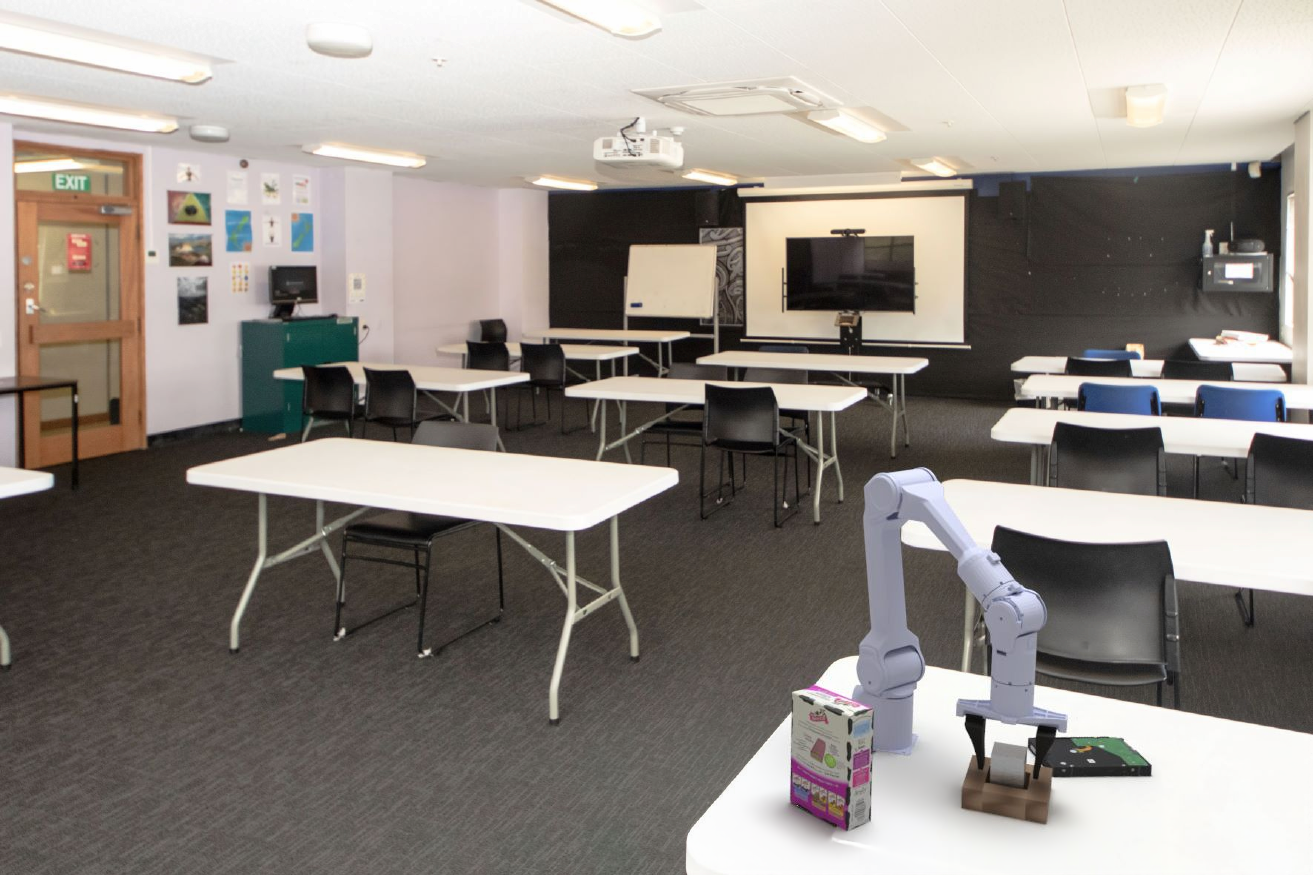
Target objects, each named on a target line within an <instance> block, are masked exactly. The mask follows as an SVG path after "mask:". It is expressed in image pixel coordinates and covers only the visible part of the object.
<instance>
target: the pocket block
mask: <svg viewBox="0 0 1313 875" xmlns="http://www.w3.org/2000/svg"><path fill="white" fill-rule="evenodd" d="M990 767H991V757H990V756H985V765H984V768H983V770H980V769H978V764H977V758H976V754H972V755H971V758H970V761H969V764H968V767H967V770H966V773H965V776H964V779H963V784H962V786H961V806H960V809H964V810H968V811H974V812H978V813H980V812H981V813H985V814H989V815H995V816H1001V817H1006V818H1011V819H1017V820H1022V821H1026V822H1033V823H1036V824H1042V825H1047V822H1048V814H1049V807H1050V800H1051V794H1052V785H1053V784H1052V781H1053V777H1052V768H1048V767H1043V765H1041V768H1040V772H1039V778H1038V780H1037V779H1033V770H1034V764H1029V763H1026V783H1025V790H1024V789H1018V788H1013V787H1007V786H1002V785H996V784H990Z"/></svg>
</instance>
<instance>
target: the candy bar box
mask: <svg viewBox="0 0 1313 875" xmlns="http://www.w3.org/2000/svg"><path fill="white" fill-rule="evenodd" d="M873 722H874V708H872V707H869V706H867V705H864V704H862V703H859V702H857V701H854V700H852V698H849V697H847V696H844V695H842V694H839V693H836V692H833V691H831V690H829V689H826V688H823V687H822V686H819V685H817V684H814V685H810V686H808V687H804V688H801V689H798V690H795V691H792V692H791V727H790V730H791V734H790V777H789V778H790V782H789V783H790V787H789V788H790V789H789V791H790V792H789V793H790V794H789V802H790V801H791V802H792V803H794V804H795V805H794V804H793V805H794V806H796V805H798V806H799V807H798V806H797V807H798V808H800V807H801V808H803V809H804V810H803V809H802V810H803V811H805V810H806V811H805V812H807V811H808V812H807V813H809V814H811V815H813V816H814V815H815V816H814V817H816V816H817V818H818V817H819V819H820V820H823V821H824V822H826V823H827V824H829V825H830V826H831V825H832V826H833V827H835V828H837V826H838V827H839V828H840V829H842V830H845V831H847V832H849V831H851V830H854V829H856V828H858V827H860V826H863V825H865V824H867V823H869V822H872V821H871V820H872V790H873V789H872V787H873V785H872V784H873V759H874V758H873V755H874V754H873V753H874V751H873ZM791 802H790V803H791ZM792 803H791V804H792ZM801 808H800V809H801Z"/></svg>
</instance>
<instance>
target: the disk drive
mask: <svg viewBox="0 0 1313 875" xmlns="http://www.w3.org/2000/svg"><path fill="white" fill-rule="evenodd" d="M1035 749H1036V736H1035V737H1028V738H1027V750H1029V751H1030V752H1031V754H1032V755H1033V756H1034V757H1035ZM1152 765H1153V764H1151V763H1150V762H1149V761H1148V760H1147V759H1146V758H1145V757H1144V756H1143V755H1142V754H1141V753H1140V752H1139V751H1137V749H1134V748H1133V747H1132V746H1130V745H1129V744H1128V742H1126V741H1125V738H1123V737H1117V736H1114V737H1113V736H1111V737H1110V736H1105V735H1104V736H1056V738H1055V740H1054V742H1053V744H1052V746H1051V747H1050V749H1049V750H1048V752H1047V754H1046V756H1045V758H1044V760H1043V763H1042V765H1041V766H1042V767H1048V768H1052V778H1085V777H1087V778H1091V777H1093V778H1095V777H1096V778H1098V777H1099V778H1100V777H1101V778H1102V777H1103V778H1105V777H1110V778H1111V777H1152V769H1153V766H1152Z"/></svg>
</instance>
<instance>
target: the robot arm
mask: <svg viewBox="0 0 1313 875" xmlns="http://www.w3.org/2000/svg"><path fill="white" fill-rule="evenodd" d="M863 492H864V493H863V494H864V496H863V497H864V512H863V517H862V519H863V524H862V525H863V534H864V548H865V549H864V550H865V562H866V576H867V591H868V602H869V603H868V604H869V605H868V606H869V614H870V615H869V617H870V631H869V632H868V633H867V634H866V635H865V636H864V638H863V639H862V640H861V641H860V643H859V645H858V651H859V653H858V654H859V655H858V659H857V662H856V666H855V667H856V668H855V669H856V676H857V680H858V681H859V684H856V685H855V686H854V688H853V691H852V695H851V699H852V700H854V701H857V702H859V703H862V704H864V705H867V706H869V707H872V708H874V722H873V752H877V751H879V752H885V753H889V754H896V755H902V756H910V755H911V754H912V751H913V749H914V748H915V747H914V746H915V745H916V742H917V741H918V738H919V734H916V733H913V728H914V727H913V726H914V725H913V723H914V721H913V720H914V693H915V690H917V688H918V683H919V682H920V681H921V680H922V679H923V678H924V675H925V673H926V662H925V659H924V656H923V654H922V651H921V648H920V640H919V637H918V636H917V635H915V634H914V633H913V632H912V631H911V630H909V629H908V625H907V624H908V622H907V610H906V599H905V597H906V595H905V584H904V570H903V568H904V567H903V555H902V541H901V529H902V528H903V526H904V525H906V524H907V523H908V521H914V522H920V523H923V524H925V526H926V527H927V528H928V529H929V530H930V531H931V533H932V534H933V535H934V536H935V537H936V538H937V539H938V540H939V542H940V543H941V544H942V545H943V546H944V547H945V548H946V549H947V550H948V552H950V554H951V555H952V556H953V557H954V558H955V559H956V560H957V575H958V577H960V579H961V581H963V582H964V584H965V585H966V587H967V588H968V589H969V591H970V592H971V593H972V594H973V596H974V597H975V598H976V600H977V601H978V603H980V605H981V606H982V607H983V609H984V610H985V611H984V612H983V619H984V622H985V625H986V628H987V630H988V631H989V634H990V635H989V636H990V638H989V639H990V641H989V643H990V644H991V650H992V651H991V652H992V653H991V670H990V671H991V672H990V673H991V674H990V691H989V692H990V698H989V699H967V698H966V699H965V698H958V699H957V701H956V707H955V708H956V709H955V716H956V717H959V718H964V717H965V720H964V728H965V731H966V733H967V734H968V737H969V739H970V741H971V743H972V746H973V750H974V753H975V754H974V755H976V758H977V764H978V769H980V770H983V768H984V765H985V757H986V740H985V739H986V728H987V727H986V724H987V720H989V721H990V720H992V721H999V722H1000V723H1001V724H1004V725H1005V724H1006V725H1010V726H1016V725H1017V724H1018V725H1023V726H1029V727H1030V726H1031V727H1035V728H1036V727H1037V728H1036V733H1035V737H1036V749H1035V756H1034V764H1033V765H1034V770H1033V779H1037V780H1038V778H1039V772H1040V768H1041V766H1043V765H1042V763H1043V760H1044V758H1045V756H1046V754H1047V752H1048V750H1049V749H1050V747H1051V746H1052V744H1053V742H1054V740H1055V738H1056V737H1057V731H1058V733H1062V734H1067V729H1068V719H1069V718H1068V714H1065V713H1061V712H1056V711H1051V710H1048V709H1045V708H1041V707H1038V706H1035V705H1034V701H1035V699H1034V698H1035V683H1036V682H1035V681H1036V663H1037V647H1038V645H1037V644H1038V643H1037V642H1038V632H1037V631H1039V630H1041V629H1042V628H1043V627H1045V625H1046V623H1047V618H1048V611H1047V608H1046V605H1045V602H1044V601H1043V599H1042V597H1041V596H1040V594H1039V593H1038V592H1036V591H1034V590H1032V589H1030V588H1029V589H1028V588H1025V587H1024V586H1023V584H1020V583H1019V582H1018V581H1016V580H1015V578H1014V577H1013V576H1012V574H1011V573H1010V572H1009V571H1008V569H1007V568H1006V567H1005V566H1004V564H1003V563H1002V562H1001V557H1000V556H999V554H998V553H997V552H993V551H992V550H991V549H988V548H983V547H979V546H978V545H977V544H976V542H975V541H974V539H973V537H971V534H970V533H969V532H968V531H967V530H968V529H966V527H965V526H964V524H963V523H962V521H961V520H960V518H959V517H958V516H957V514H956V513H955V511H954V510H953V509H952V507H951V506H950V504H949V503H948V502H947V501H948V500H946V499H945V487H944V485H943V484H942V483H941V481H939V480H938V479H937V476H936V475H935V474H934V473H933V472H932V470H930V469H929V468H926V467H914V468H913V469H906V470H900V471H893V472H892V471H891V472H879V473H876V474H875V475H873V476H872V477H871V479H869V480H868V482H867V483H866V484H865V485H864V486H863Z"/></svg>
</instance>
